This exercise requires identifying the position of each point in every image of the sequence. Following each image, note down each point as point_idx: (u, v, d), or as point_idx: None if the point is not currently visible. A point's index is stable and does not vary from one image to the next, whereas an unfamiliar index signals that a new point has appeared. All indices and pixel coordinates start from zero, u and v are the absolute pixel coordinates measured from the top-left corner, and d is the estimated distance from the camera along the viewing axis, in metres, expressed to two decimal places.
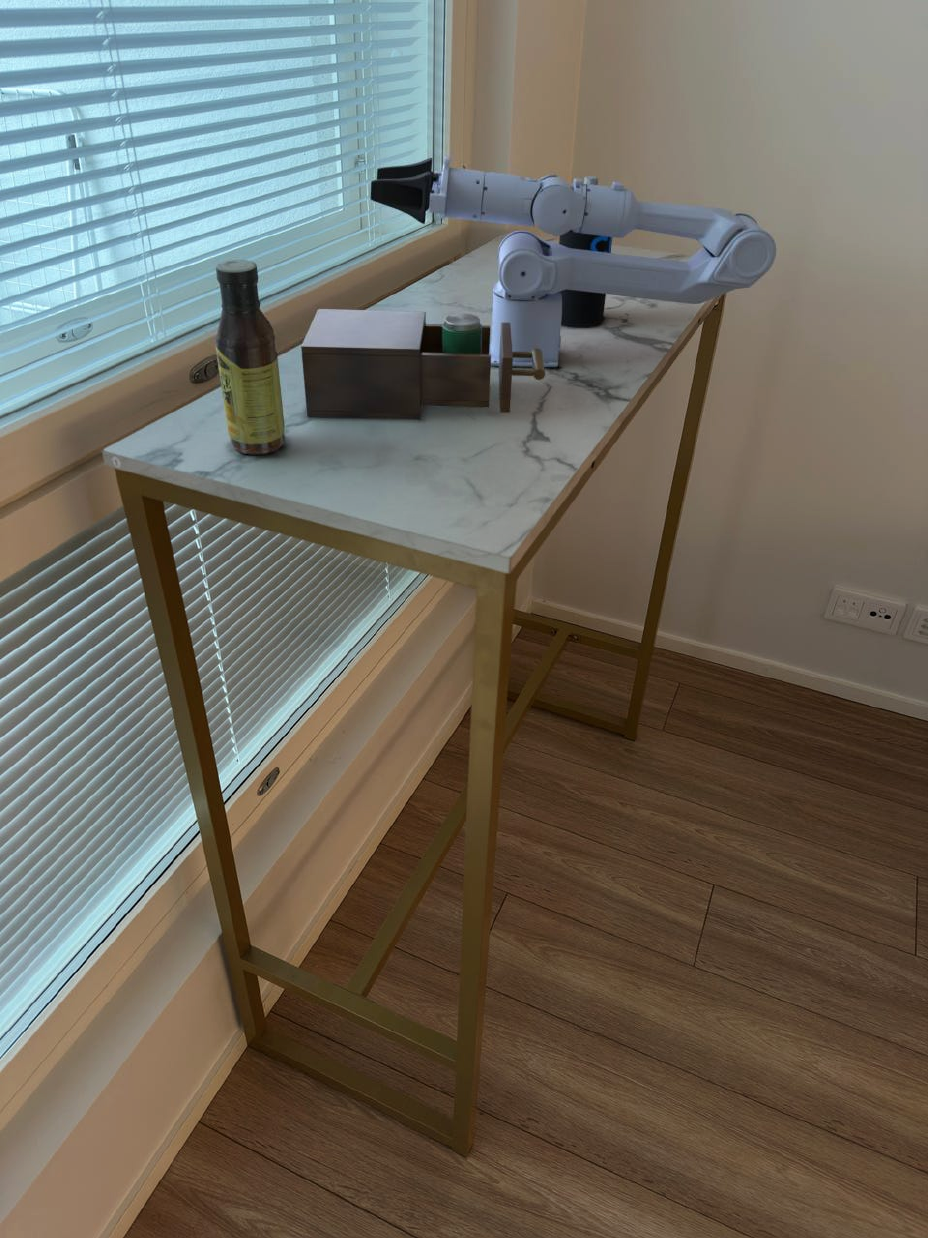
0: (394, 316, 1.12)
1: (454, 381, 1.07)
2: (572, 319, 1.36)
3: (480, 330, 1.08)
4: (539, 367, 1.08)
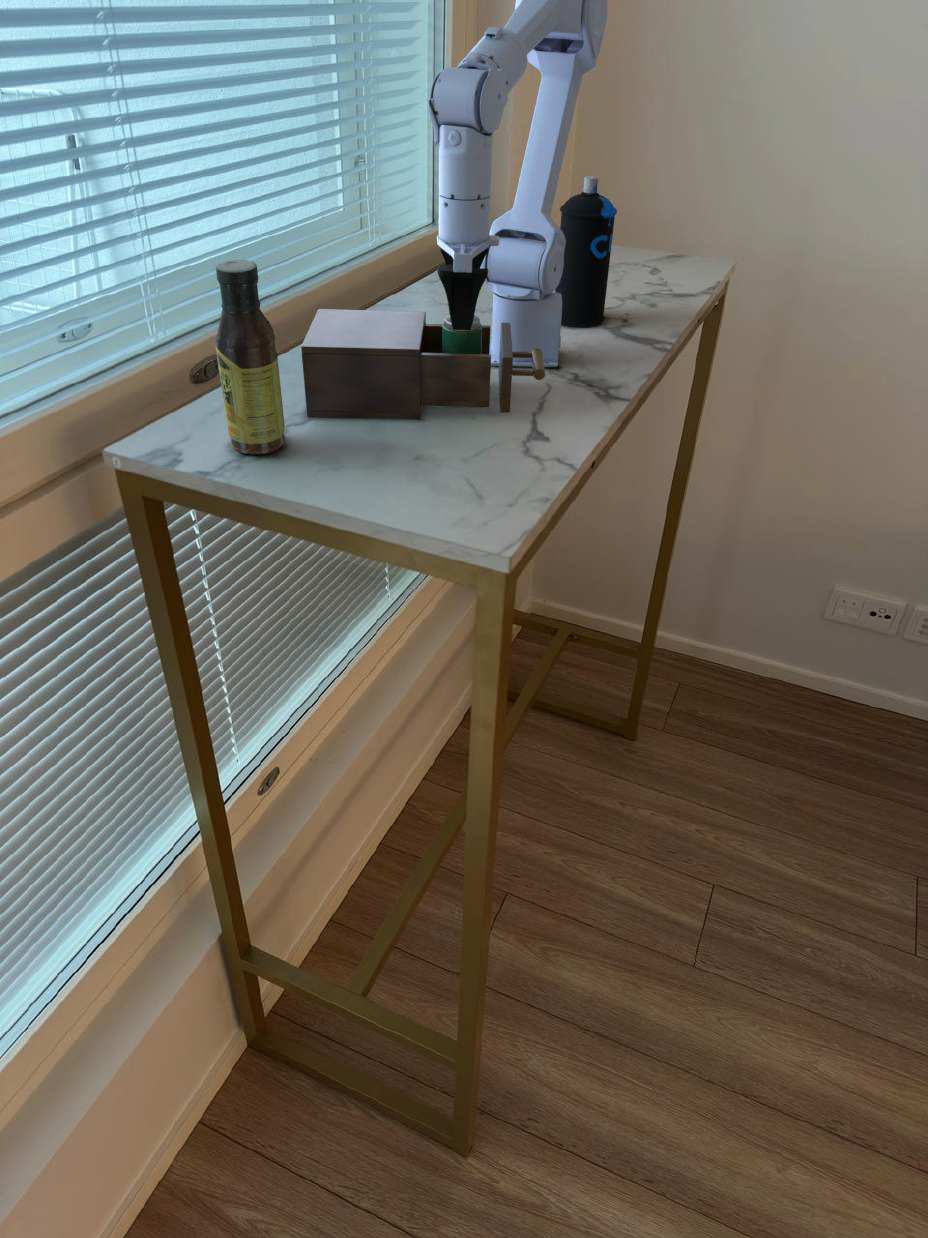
0: (394, 316, 1.12)
1: (454, 381, 1.07)
2: (572, 319, 1.36)
3: (480, 330, 1.08)
4: (539, 367, 1.08)
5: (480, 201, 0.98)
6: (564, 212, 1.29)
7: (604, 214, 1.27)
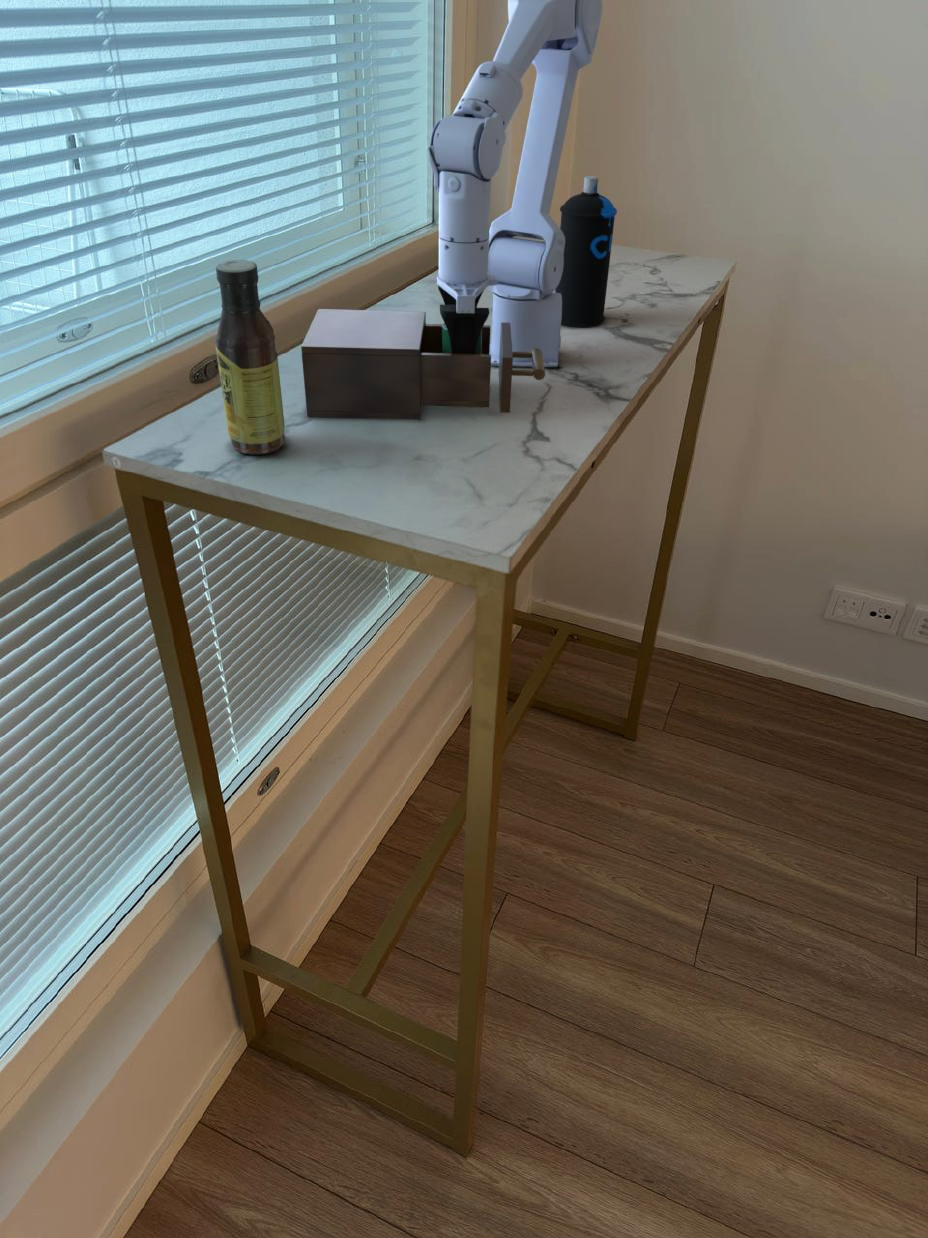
0: (394, 316, 1.12)
1: (454, 381, 1.07)
2: (572, 319, 1.36)
3: None
4: (539, 367, 1.08)
5: (480, 243, 1.01)
6: (564, 212, 1.29)
7: (604, 214, 1.27)
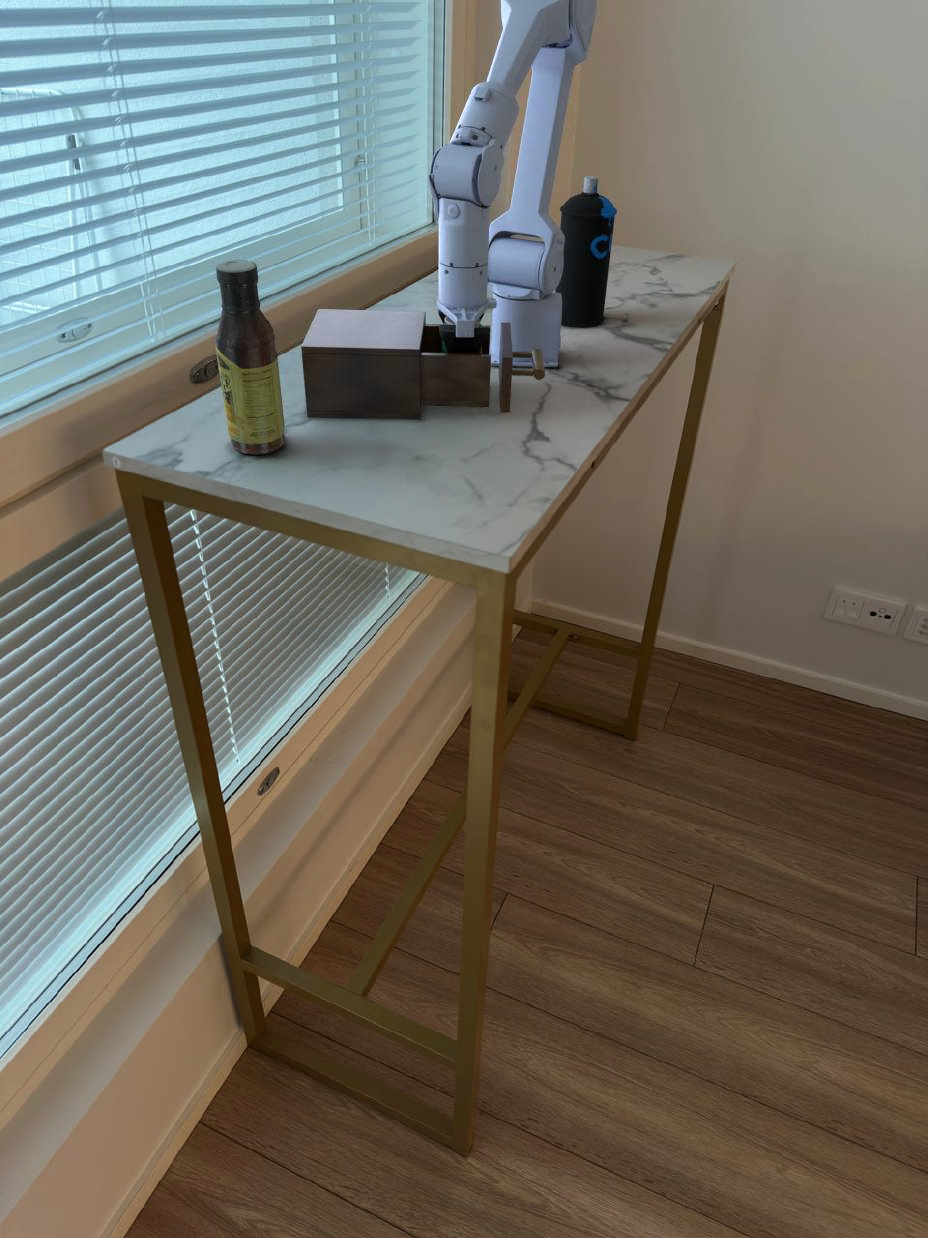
0: (394, 316, 1.12)
1: (454, 381, 1.07)
2: (572, 319, 1.36)
3: None
4: (539, 367, 1.08)
5: (479, 268, 1.02)
6: (564, 212, 1.29)
7: (604, 214, 1.27)
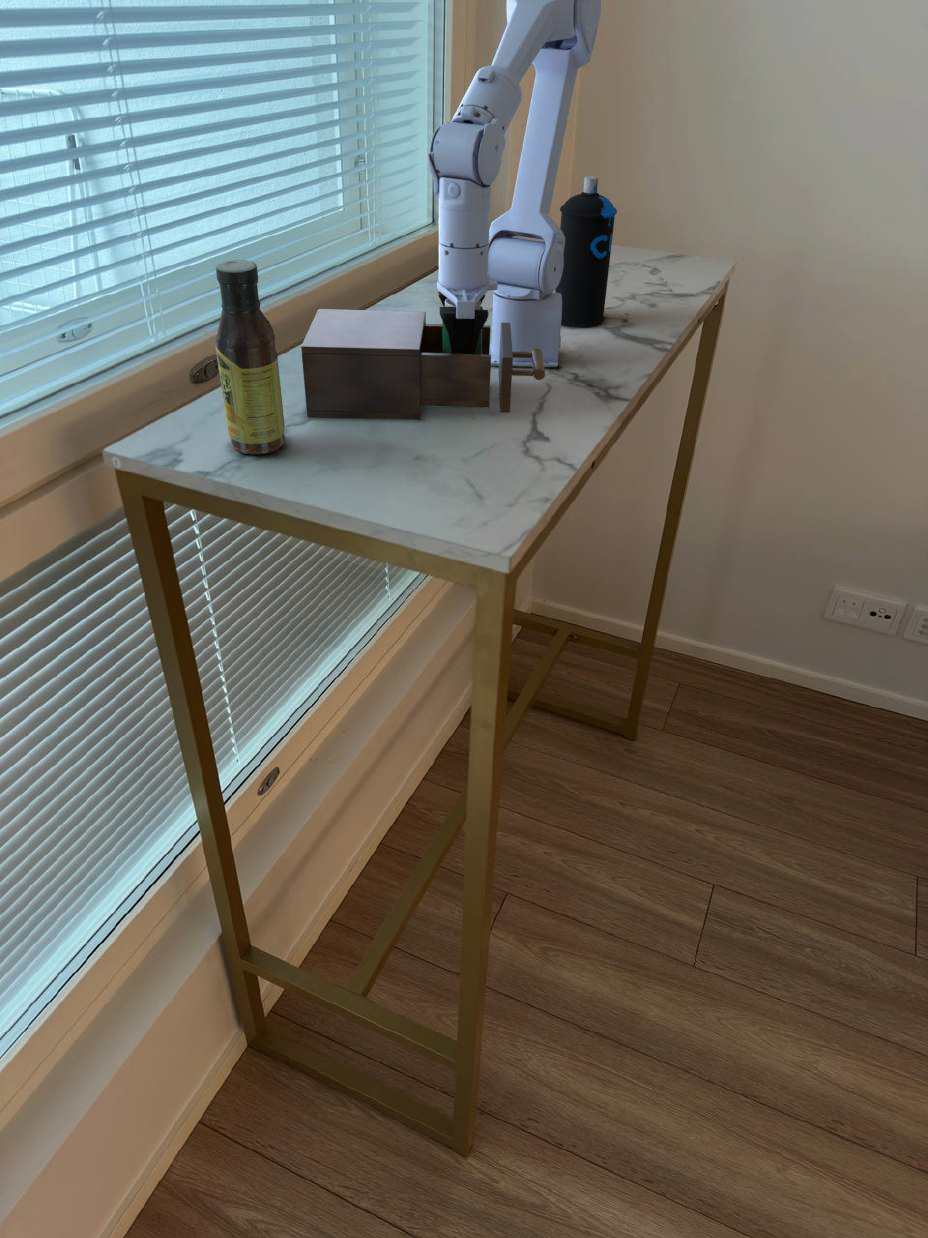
0: (394, 316, 1.12)
1: (454, 381, 1.07)
2: (572, 319, 1.36)
3: None
4: (539, 367, 1.08)
5: (479, 249, 1.01)
6: (564, 212, 1.29)
7: (604, 214, 1.27)
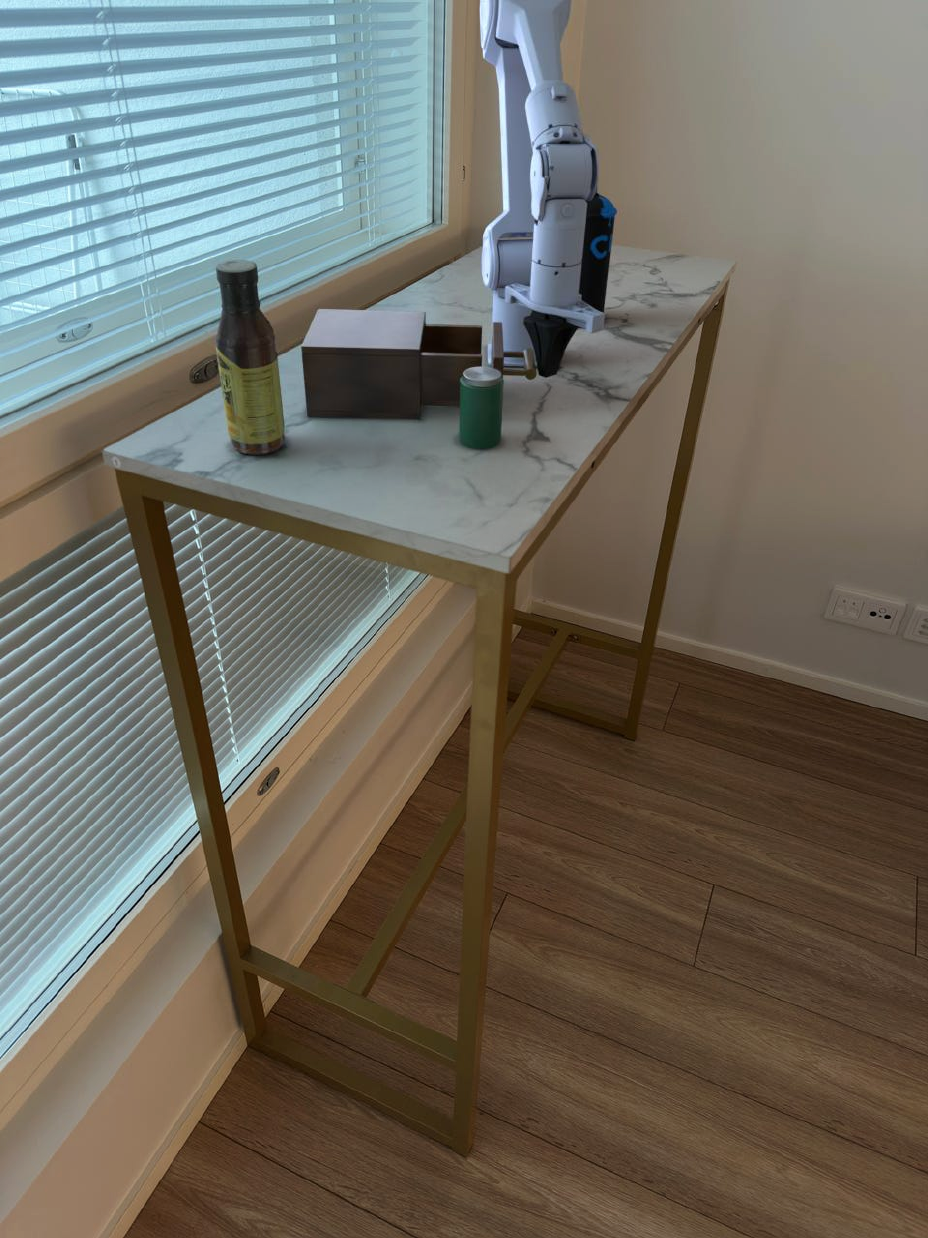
0: (394, 316, 1.12)
1: (445, 381, 1.07)
2: None
3: (503, 383, 1.00)
4: (530, 367, 1.08)
5: None
6: None
7: (604, 214, 1.27)
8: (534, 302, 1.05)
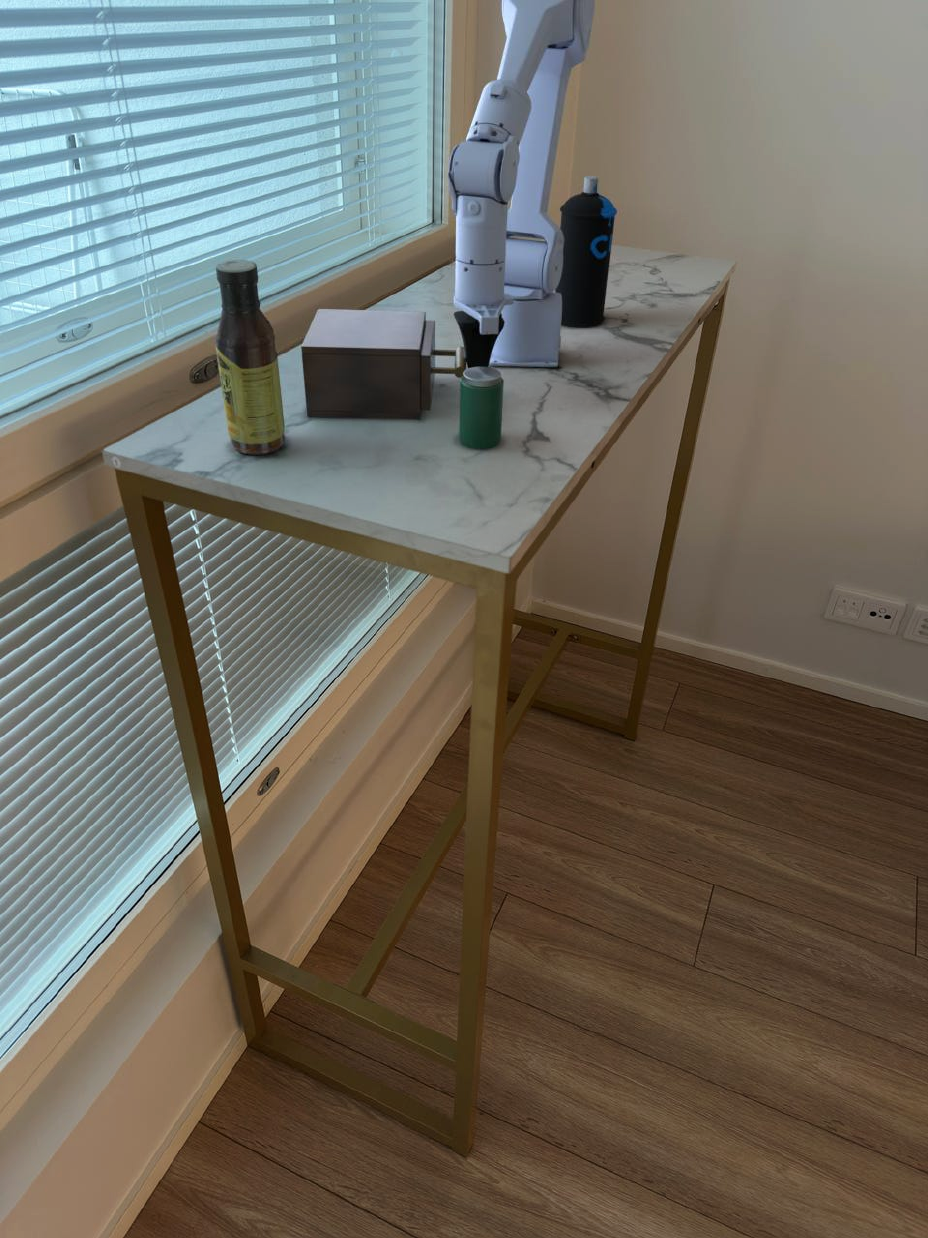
0: (394, 316, 1.12)
1: None
2: (572, 319, 1.36)
3: (503, 383, 1.00)
4: (460, 365, 1.08)
5: (498, 265, 1.02)
6: (564, 212, 1.29)
7: (604, 214, 1.27)
8: (454, 296, 1.06)
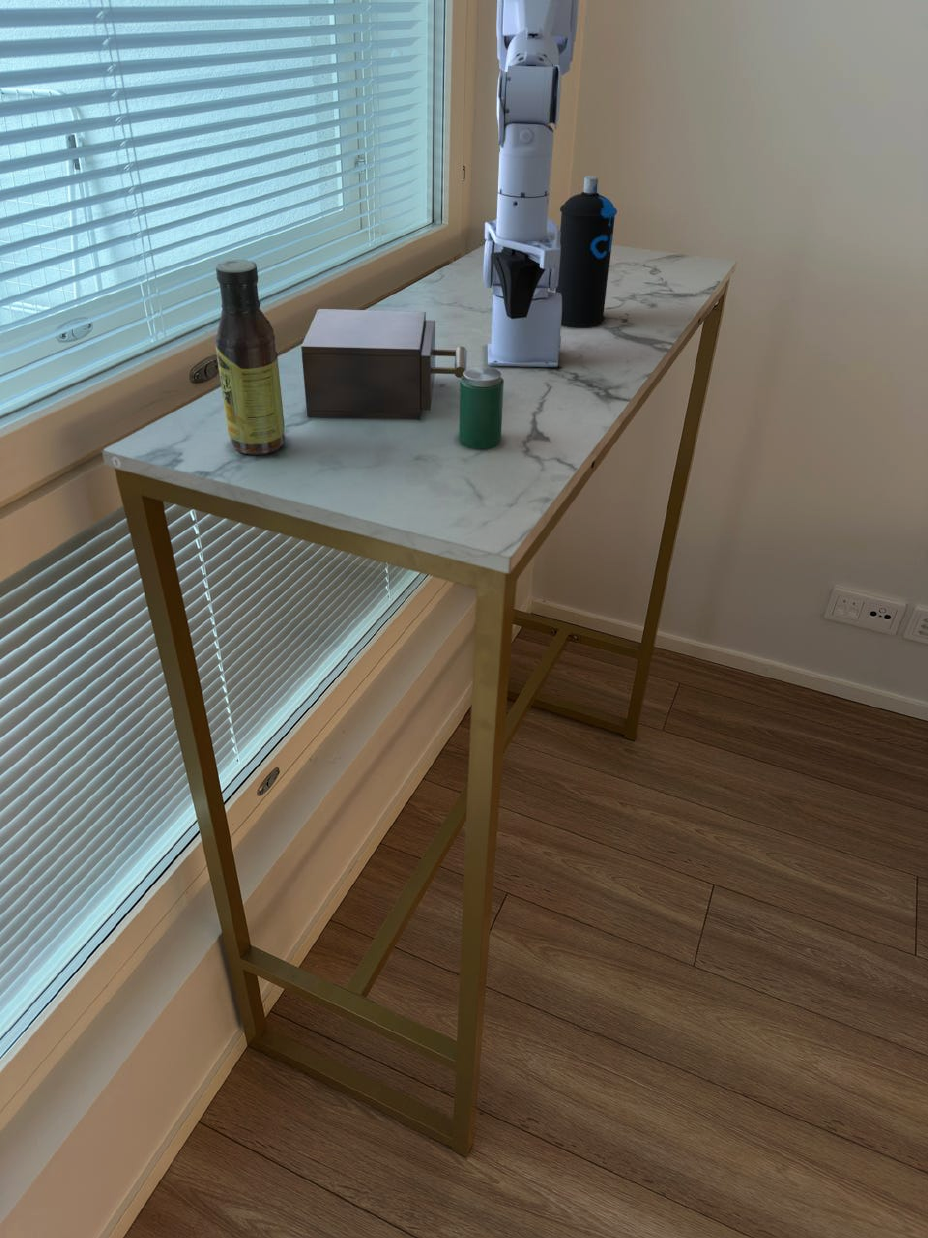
0: (394, 316, 1.12)
1: None
2: (572, 319, 1.36)
3: (503, 383, 1.00)
4: (460, 365, 1.08)
5: (547, 197, 0.99)
6: (564, 212, 1.29)
7: (604, 214, 1.27)
8: (497, 235, 1.02)
